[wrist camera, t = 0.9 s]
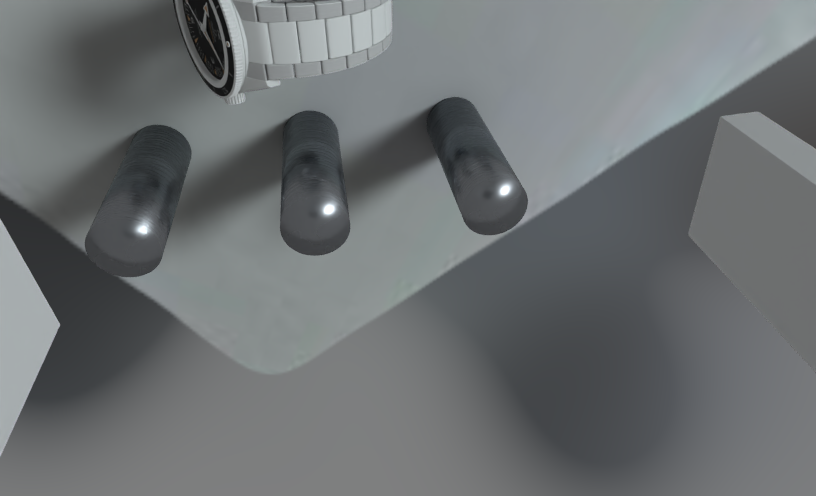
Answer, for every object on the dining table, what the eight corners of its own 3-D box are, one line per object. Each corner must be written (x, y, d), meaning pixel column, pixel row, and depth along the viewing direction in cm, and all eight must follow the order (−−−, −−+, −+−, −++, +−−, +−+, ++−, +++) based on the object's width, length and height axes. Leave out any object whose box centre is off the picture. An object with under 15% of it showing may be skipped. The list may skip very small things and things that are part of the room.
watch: (184, -95, 26) (127, -45, 17) (369, -102, 27) (405, -57, 18) (211, 36, 29) (176, 135, 20) (375, 26, 30) (408, 116, 21)
